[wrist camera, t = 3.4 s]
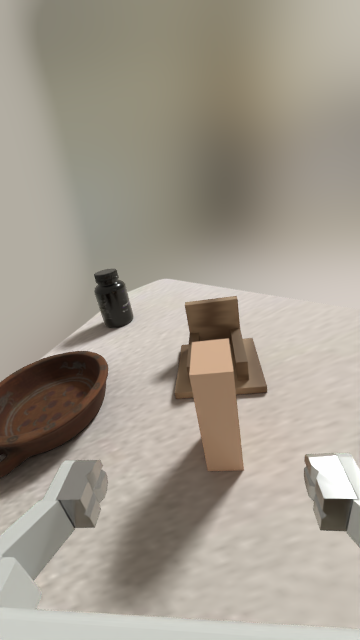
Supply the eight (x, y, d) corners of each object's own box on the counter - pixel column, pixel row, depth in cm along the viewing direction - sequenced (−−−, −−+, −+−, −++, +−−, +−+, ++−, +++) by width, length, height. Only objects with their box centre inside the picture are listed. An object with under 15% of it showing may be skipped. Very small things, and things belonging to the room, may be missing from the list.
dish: (139, 365, 46) (132, 340, 44) (64, 501, 27) (44, 469, 25) (52, 366, 50) (42, 344, 48) (-64, 483, 32) (-90, 454, 29)
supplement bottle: (136, 322, 61) (122, 271, 56) (106, 331, 59) (89, 279, 54) (131, 312, 67) (118, 264, 62) (104, 320, 65) (88, 272, 60)
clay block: (238, 428, 31) (228, 338, 26) (243, 470, 26) (233, 371, 21) (207, 430, 31) (191, 342, 26) (207, 471, 27) (189, 375, 22)
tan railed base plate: (252, 343, 46) (249, 293, 42) (267, 392, 35) (264, 332, 31) (182, 350, 47) (173, 303, 44) (176, 398, 37) (162, 342, 33)
